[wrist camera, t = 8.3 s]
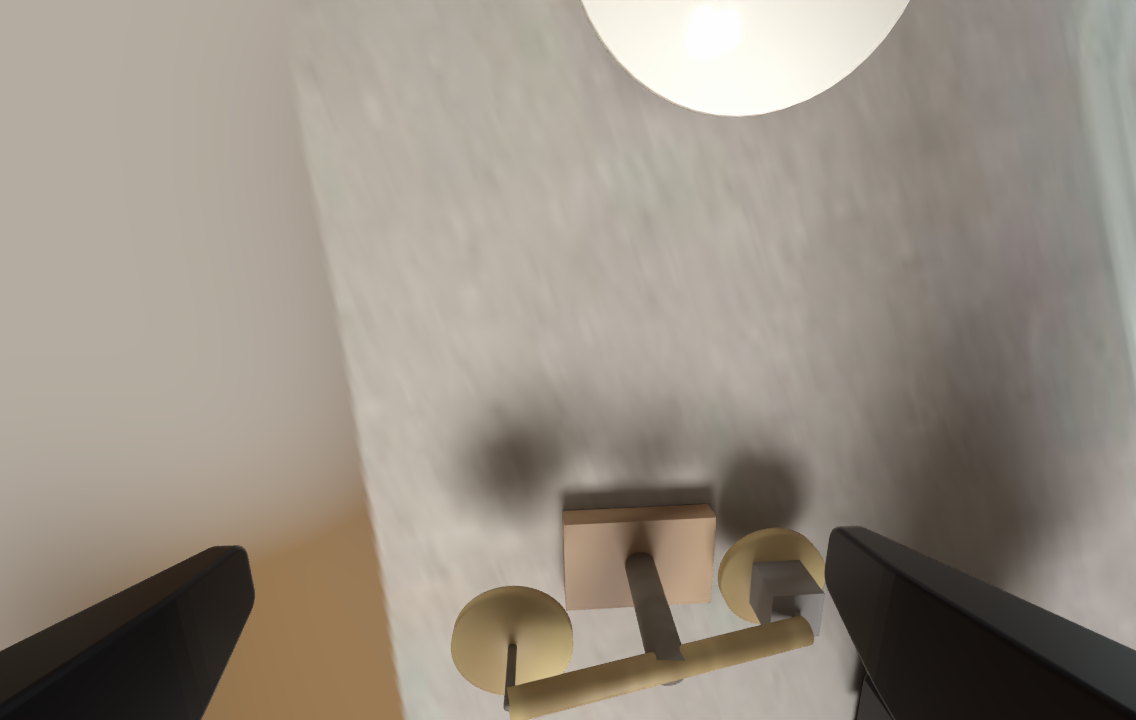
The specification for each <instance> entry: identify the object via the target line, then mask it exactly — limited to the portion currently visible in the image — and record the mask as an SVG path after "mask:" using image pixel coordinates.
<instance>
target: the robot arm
mask: <svg viewBox="0 0 1136 720" xmlns="http://www.w3.org/2000/svg"><path fill="white" fill-rule="evenodd" d="M824 575H825V582H826V585H827V588H828V591H829V593H830V595H831V597H832V599H833V601H834V603H835V605H836V607H837V610H838V612H839V614H840V616H841V618H842V620H843V622H844V624H845V626H846V628H847V631H848V633H849V635H850V637H851V639H852V641H853V643H854V645H855V647H856V650H857V652H858V654H859V656H860V658H861V660H862V662H863V664H864V666H865V668H866V670H865V676H864V680H863V686H862V692H861V698H860V704H859V710H858V715H857V720H1136V650H1133V649H1131V648H1129V647H1127V646H1125V645H1122V644H1120V643H1118V642H1116V641H1114V640H1111V639H1109V638H1107V637H1105V636H1103V635H1100V634H1098V633H1096V632H1094V631H1092V630H1089V629H1087V628H1085V627H1083V626H1080V625H1078V624H1076V623H1074V622H1072V621H1069V620H1067V619H1065V618H1063V617H1061V616H1058V615H1056V614H1054V613H1052V612H1050V611H1047V610H1045V609H1043V608H1041V607H1039V606H1036V605H1034V604H1032V603H1030V602H1027V601H1025V600H1023V599H1021V598H1019V597H1016V596H1014V595H1012V594H1010V593H1008V592H1005V591H1003V590H1001V589H999V588H997V587H994V586H992V585H990V584H988V583H986V582H983V581H981V580H979V579H977V578H974V577H972V576H970V575H968V574H966V573H963V572H961V571H959V570H957V569H955V568H952V567H950V566H948V565H946V564H944V563H941V562H939V561H937V560H935V559H933V558H930V557H928V556H926V555H924V554H921V553H919V552H917V551H915V550H913V549H910V548H908V547H906V546H904V545H902V544H899V543H897V542H895V541H893V540H891V539H888V538H886V537H884V536H882V535H880V534H877V533H875V532H873V531H871V530H868V529H866V528H864V527H861V526H842V527H836V528H834V529H833V530H832V532H831V534H830V538H829V544H828V551H827V557H826V564H825V571H824ZM254 599H255V589H254V584H253V579H252V574H251V569H250V564H249V559H248V554H247V552H246V550H245V549H244V548H243V547H242V546H238V545H236V546H235V545H234V546H214V547H211V548H208V549H206V550H204V551H202V552H200V553H198V554H196V555H194V556H192V557H190V558H188V559H186V560H184V561H182V562H180V563H178V564H176V565H174V566H172V567H170V568H168V569H166V570H164V571H162V572H160V573H158V574H156V575H154V576H152V577H150V578H148V579H145V580H144V581H142V582H139V583H137V584H135V585H133V586H131V587H129V588H127V589H125V590H123V591H121V592H120V593H117V594H115V595H113V596H111V597H109V598H107V599H105V600H103V601H101V602H99V603H97V604H95V605H93V606H91V607H89V608H87V609H85V610H83V611H81V612H79V613H77V614H75V615H73V616H71V617H68V618H66V619H64V620H62V621H60V622H58V623H56V624H54V625H52V626H50V627H48V628H46V629H44V630H42V631H40V632H38V633H36V634H34V635H32V636H30V637H28V638H26V639H24V640H22V641H20V642H18V643H16V644H14V645H12V646H10V647H8V648H6V649H4V650H2V651H0V720H201V719H202V717H203V715H204V713H205V711H206V709H207V707H208V705H209V703H210V700H211V698H212V696H213V695H214V692H215V690H216V688H217V686H218V683H219V681H220V679H221V676H222V675H223V672H224V670H225V668H226V666H227V664H228V661H229V659H230V657H231V655H232V652H233V650H234V648H235V646H236V644H237V642H238V639H239V637H240V635H241V633H242V630H243V628H244V626H245V624H246V622H247V619H248V617H249V615H250V613H251V610H252V608H253V604H254Z"/></svg>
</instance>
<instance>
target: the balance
mask: <svg viewBox="0 0 1136 720" xmlns="http://www.w3.org/2000/svg"><path fill="white" fill-rule="evenodd" d="M715 531H716V516H715V514H714V513H713V511H712V509H711V507H710V506H709V504H694V505H674V506H654V507H634V508H614V509H593V510H573V511H563V542H564V576H565V601H566V611H568V610H585V609H602V608H620V607H634V608H635V612H636V616H637V620H638V625H639V629H640V633H641V637H642V641H643V646H644V650H645V654H641V655H637V656H633V657H629V658H625V659H621V660H617V661H613V662H609V663H605V664H601V665H597V666H593V667H589V668H585V669H580V670H576V671H572V672H568V673H564V674H562V673H563V672H564V670H565V669H566V668H567V666H568V664H569V662H570V659H571V657H572V652H573V634H572V625H571V621H570V619H569V616H568V614H567V613H566V611H565V609H564V608H563V607H562V606H561V605H560V603H558V602H557V601H556V600H555V599H554V598H552V597H551V596H549V595H548V594H546V593H544V592H542V591H539V590H536V589H533V588H529V587H523V586H506V587H499V588H495V589H492V590H489V591H486V592H484V593H482V594H480V595H478V596H477V597H475V598H474V599H472V600H471V601H470V602H469V603H468V604H467V605H466V606H465V607H464V608H463V609H462V611H461V612H460V614H459V616H458V618H457V620H456V622H455V626H454V630H453V635H452V641H451V654H452V658H453V661H454V664H455V666H456V668H457V669H458V671H459V672H460V673H461V675H462V676H463V677H464V678H465V679H466V680H467V681H469V682H470V683H471V684H473V685H474V686H476V687H478V688H480V689H482V690H484V691H487V692H490V693H494V694H499V695H505V696H504V710H505V711H509V713H510V719H511V720H528V719H532V718H536V717H540V716H543V715H547V714H551V713H555V712H559V711H562V710H566V709H570V708H574V707H578V706H581V705H585V704H589V703H593V702H596V701H600V700H604V699H608V698H612V697H615V696H619V695H623V694H627V693H631V692H634V691H638V690H642V689H646V688H650V687H653V686H657V685H664V686H670V685H675V684H677V683H679V682H681V681H682V680H683V679H684V678H687V677H691V676H695V675H699V674H703V673H706V672H710V671H714V670H718V669H722V668H725V667H729V666H733V665H737V664H741V663H744V662H748V661H752V660H756V659H759V658H763V657H767V656H771V655H775V654H778V653H782V652H786V651H790V650H794V649H797V648H801V647H805V646H809V645H812V644H813V642H814V636H819V631H820V624H821V616H822V609H823V602H824V594H825V593H824V592H823V591H822V589H823V586H824V583H825V575H824V571H825V564H824V561H823V558H822V556H821V555H820V553H819V552H818V550H817V549H816V548H815V547H814V545H813V544H812V543H811V542H810V541H809V540H808V539H807V538H806V537H805V536H803V535H802V534H800V533H798V532H796V531H793V530H790V529H785V528H766V529H762V530H758V531H755V532H752V533H750V534H748V535H746V536H745V537H743V538H741V539H740V540H739V541H737V542H736V543H735V544H734V545H733V546H732V547H731V548H730V549H729V550H728V551H727V553H726V554H725V556H724V558H723V559H722V562H721V564H720V567H719V572H718V584H719V588H720V591H721V593H722V595H723V597H724V600H725V602H726V604H727V605H728V607H729V608H730V609H731V611H732V612H733V613H734V614H736V615H737V616H738V617H740V618H742V619H744V620H746V621H749V622H752V623H756V624H761V625H759V626H755V627H751V628H747V629H743V630H739V631H735V632H731V633H727V634H723V635H718V636H714V637H710V638H706V639H702V640H698V641H694V642H690V643H686V644H682V645H681V642H680V639H679V636H678V633H677V630H676V627H675V624H674V621H673V617H672V614H671V611H670V608H669V605H672V604H689V603H706V602H711V594H712V578H713V562H714V547H715Z"/></svg>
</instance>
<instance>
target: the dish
mask: <svg viewBox="0 0 1136 720" xmlns="http://www.w3.org/2000/svg"><path fill="white" fill-rule="evenodd" d="M579 1H580V3H581V5H582V7H583V10H584V12H585V14H586V16H587V19H588V21H589V23H590V25H591V26H592V28H593V30H594V31H595V33H596V35H597V36H598V38H599V40H600V41H601V43H602V44H603V46H604V47H605V48H606V50H607V51H608V52H609V53H610V55H611V56H612V57H613V58H614V60H615V61H616V62H617V64H619V65H620V66H621V67H622V68H623V69H624V70H625V71H626V72H627V73H628V74H629V75H630V76H631V77H632V78H633V79H634V80H635V81H636V82H638V83H639V84H641V85H642V86H643V87H645V88H646V89H647V90H649V91H650V92H651V93H653V94H655V95H656V96H658V97H660V98H662V99H664V100H666V101H668V102H669V103H671V104H673V105H676V106H679V107H682V108H684V109H687V110H690V111H693V112H697V113H702V114H707V115H712V116H721V117H746V116H757V115H762V114H766V113H771V112H775V111H779V110H782V109H785V108H787V107H790V106H793V105H795V104H798V103H800V102H803V101H805V100H808V99H810V98H812V97H814V96H816V95H817V94H819V93H821V92H823V91H825V90H827V89H828V88H830V87H832V86H833V85H834V84H836V83H837V82H839V81H840V80H841V79H843V78H844V77H846V76H847V75H848V74H850V73H851V72H852V71H853V70H854V69H855V68H857V67H858V66H859V65H860V64H861V63H862V62H863V61H864V60H865V59H866V58H868V57H869V56H870V54H871V53H872V52H873V51H874V50H875V49H876V48H877V46H878V45H879V44H880V43H881V42H882V41H883V40H884V38H885V37H886V36H887V35H888V33H889V32H890V31H891V29H892V28H893V26H894V25H895V23H896V22H897V20H898V19H899V18H900V16H901V15H902V13H903V11H904V10H905V8H906V6H907V4H908V2H909V1H910V0H579Z"/></svg>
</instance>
